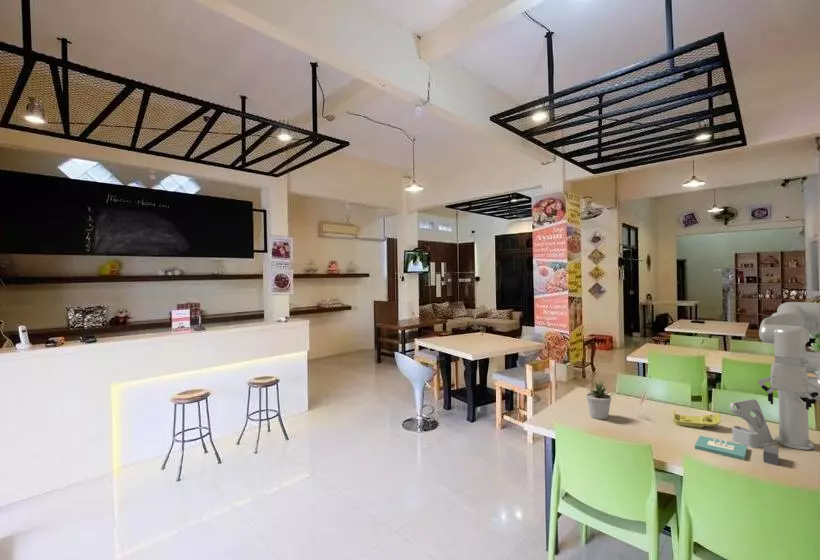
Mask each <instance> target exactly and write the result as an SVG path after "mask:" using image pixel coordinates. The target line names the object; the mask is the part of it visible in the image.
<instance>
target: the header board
mask: <svg viewBox="0 0 820 560" xmlns="http://www.w3.org/2000/svg"><path fill="white" fill-rule="evenodd" d="M695 442H696V443H694V449H695V450H700V451H702V452H703V451H704V452H708V453H711V454H716V455H720V456H724V457H728V458H729V457H730V458H733V459H737V460H740V461H741V460H743V461H745V459H746V456H747V452H748V446H747V445H743V444H740V443H738V442H734V441H727V440H722V439H719V438H713V437H710V436H704V435H699V436H698V439H697V440H696V441H695Z"/></svg>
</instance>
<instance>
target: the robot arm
mask: <svg viewBox="0 0 820 560" xmlns="http://www.w3.org/2000/svg"><path fill="white" fill-rule="evenodd" d="M810 333H820V303H819V302H818V303H817V302H807V301H806V302H803V301H800V302H799V301H789V302H788V301H787V302H784V303H780V305H778V307H777V310H776V312H774V313H772V314H771V316H768V317H765V318H763V320H762V321H761V323H760V325H759V329H758V334H759V335H758V336H759V339H760V340H761V341H762V342H763V343H766V344H774V345H773V346H774V361H773V362H771V367H770V376H767V377H765V378H761V379H758V380H757V383H758V384H759V386H760V387H761V389H762V390H764V391H765V392H766V393H767V399H768V402H770V405H774V393H773V392H775V391H777V397H778V399H777V400H778V426H779V427H778V430H779V432H778V433H779V435H777V436H775V437H774V440H775V441H776V442H778V444H780V445H781V446H784V447H787V448H791V449H795V450H801V451H802V450H803V451H811V450H814V448H815V446H814V444H813V443H812V442H810V437H809V436H810V435H809V434H810V433H809V432H810V431H809V430H810V429H809V410H810V408H813V407H812V403H813V402H812V400H819V401H820V352H814V351H813V352H812V351H807V350H806V344H807V343H809V342H810V340H811V334H810ZM808 374H811V375H815V376H808ZM769 382H770V387H768V386H766V384H765V383H769ZM802 398H805V401H804V400H803V399H802Z"/></svg>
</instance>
